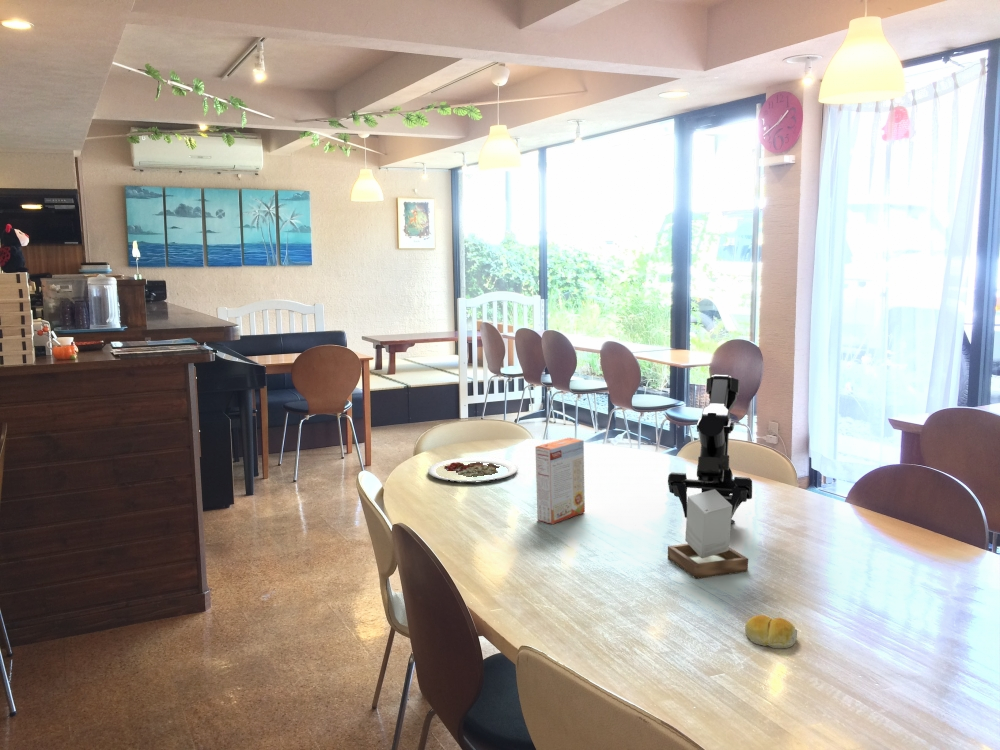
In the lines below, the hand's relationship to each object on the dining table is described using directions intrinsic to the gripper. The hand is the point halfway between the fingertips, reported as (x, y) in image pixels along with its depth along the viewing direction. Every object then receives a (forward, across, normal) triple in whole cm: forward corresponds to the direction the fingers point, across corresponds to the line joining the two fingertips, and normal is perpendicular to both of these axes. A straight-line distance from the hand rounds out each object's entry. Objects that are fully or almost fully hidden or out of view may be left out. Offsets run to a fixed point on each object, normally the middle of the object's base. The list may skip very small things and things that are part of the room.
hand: (707, 518), depth 181 cm
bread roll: (+31, +15, -15) cm, 37 cm away
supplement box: (+4, 0, +6) cm, 7 cm away
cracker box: (-10, -41, +26) cm, 50 cm away
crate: (+7, 0, +9) cm, 11 cm away
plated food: (-35, -81, +53) cm, 103 cm away
